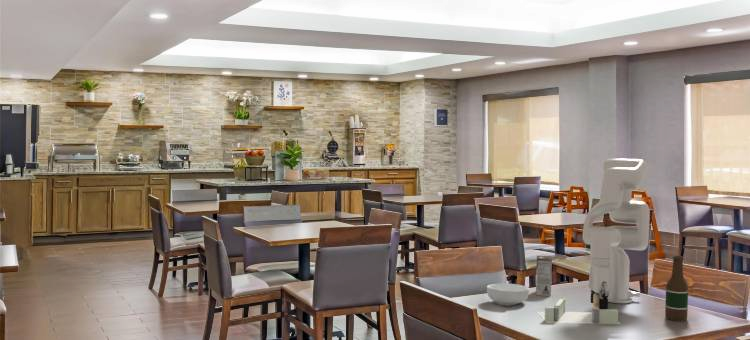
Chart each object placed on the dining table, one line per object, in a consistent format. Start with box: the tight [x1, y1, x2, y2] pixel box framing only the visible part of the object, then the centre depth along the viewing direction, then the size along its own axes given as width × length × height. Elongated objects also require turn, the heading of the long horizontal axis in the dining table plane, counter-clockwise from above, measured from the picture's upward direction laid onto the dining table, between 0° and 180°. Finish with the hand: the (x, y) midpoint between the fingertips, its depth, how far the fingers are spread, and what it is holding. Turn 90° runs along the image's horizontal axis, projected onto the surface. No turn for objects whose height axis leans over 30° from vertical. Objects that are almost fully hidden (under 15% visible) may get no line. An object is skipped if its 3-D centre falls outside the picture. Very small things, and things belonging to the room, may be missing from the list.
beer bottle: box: [664, 255, 689, 322], centre depth 268 cm, size 8×8×24 cm
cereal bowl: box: [486, 283, 530, 307], centre depth 290 cm, size 17×17×7 cm
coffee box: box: [535, 255, 553, 297], centre depth 310 cm, size 9×6×16 cm
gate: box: [554, 297, 566, 319], centre depth 268 cm, size 14×2×5 cm, turn 156°
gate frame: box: [536, 306, 622, 325], centre depth 266 cm, size 27×17×5 cm, turn 91°
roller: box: [592, 292, 603, 309], centre depth 270 cm, size 4×4×8 cm
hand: (599, 306), depth 270 cm, fingers open, 9 cm apart
